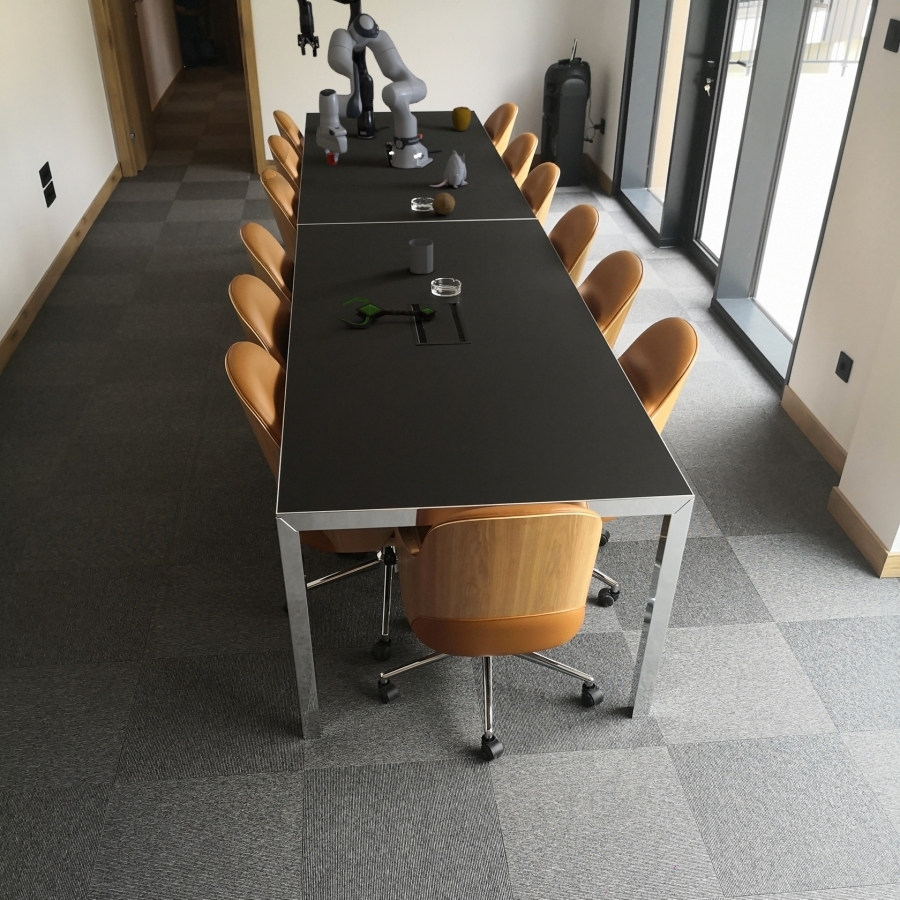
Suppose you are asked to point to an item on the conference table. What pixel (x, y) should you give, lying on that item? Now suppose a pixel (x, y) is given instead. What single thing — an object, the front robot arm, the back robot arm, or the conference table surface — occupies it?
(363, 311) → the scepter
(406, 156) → the front robot arm
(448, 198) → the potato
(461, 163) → the toy
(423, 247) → the cup
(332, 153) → the tin
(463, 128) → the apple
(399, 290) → the conference table surface
